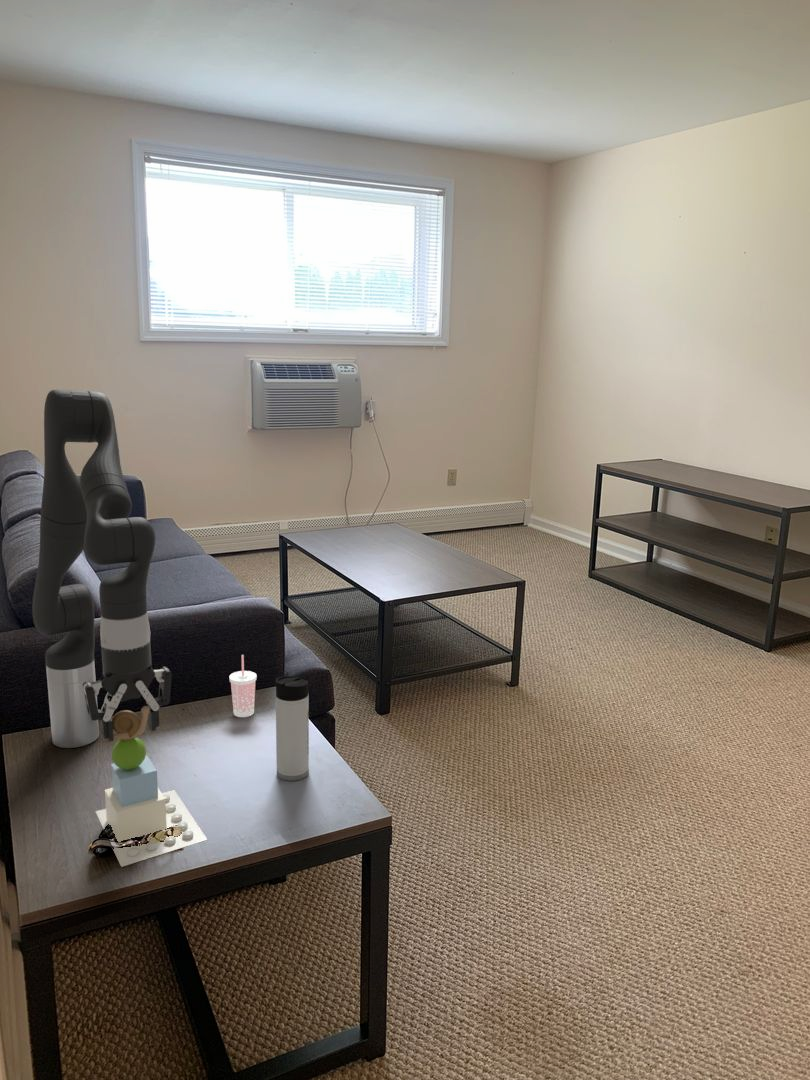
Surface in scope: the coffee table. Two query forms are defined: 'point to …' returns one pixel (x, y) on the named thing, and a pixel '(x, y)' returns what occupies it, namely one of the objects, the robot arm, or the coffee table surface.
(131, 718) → the snail figurine
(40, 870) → the coffee table surface
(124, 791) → the blue brick
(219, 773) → the coffee table surface
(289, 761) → the travel mug
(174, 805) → the build plate
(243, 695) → the beverage cup
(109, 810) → the base brick
